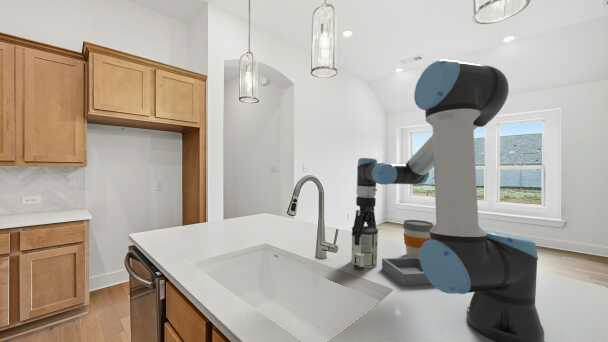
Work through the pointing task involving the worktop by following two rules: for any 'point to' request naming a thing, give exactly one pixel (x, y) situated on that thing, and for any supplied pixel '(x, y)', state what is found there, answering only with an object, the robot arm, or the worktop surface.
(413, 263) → the housing tray
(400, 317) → the worktop surface
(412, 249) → the reusable coffee cup
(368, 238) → the coffee can
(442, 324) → the worktop surface
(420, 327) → the worktop surface
